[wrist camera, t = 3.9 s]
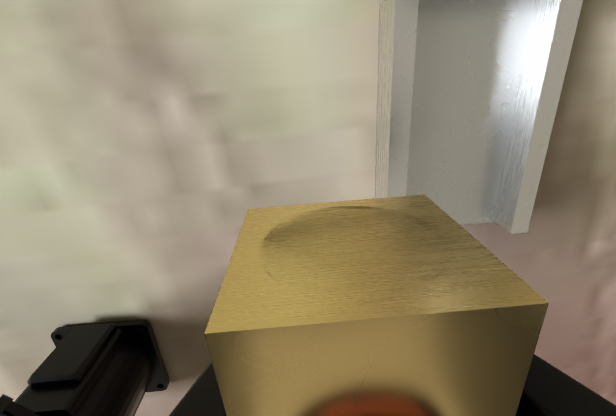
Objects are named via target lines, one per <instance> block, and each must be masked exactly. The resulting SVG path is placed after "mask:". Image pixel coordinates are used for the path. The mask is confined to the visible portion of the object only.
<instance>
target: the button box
mask: <svg viewBox="0 0 616 416" xmlns="http://www.w3.org/2000/svg"><path fill="white" fill-rule="evenodd" d="M548 304H549V303H548V302H547V301H546V300H545V299H543V298H542V297H541V296H540V295H539V294H538V293H537V292H535V291H534V290H533V289H532V288H531V287H530V286H529V285H527V284H526V283H525V282H524V281H523V280H522V279H521V278H519V277H518V276H517V275H516V274H515V273H514V272H513V271H512V270H510V269H509V268H508V267H507V266H506V265H505V264H504V263H502V262H501V261H500V260H499V259H498V258H497V257H496V256H494V255H493V254H492V253H491V252H490V251H489V250H488V249H486V248H485V247H484V246H483V245H482V244H481V243H480V242H478V241H477V240H476V239H475V238H474V237H473V236H472V235H470V234H469V233H468V232H467V231H466V230H465V229H464V228H463V227H461V226H460V225H459V224H458V223H457V222H456V221H455V220H453V219H452V218H451V217H450V216H449V215H448V214H447V213H445V212H444V211H443V210H442V209H441V208H440V207H439V206H437V205H436V204H435V203H434V202H433V201H432V200H431V199H429V198H428V197H427V196H426V195H425V194H424V195H412V196H400V197H388V198H376V199H364V200H352V201H340V202H329V203H317V204H305V205H293V206H281V207H269V208H257V209H248V211H247V214H246V216H245V219H244V222H243V225H242V228H241V231H240V234H239V236H238V239H237V242H236V245H235V248H234V251H233V254H232V256H231V259H230V262H229V265H228V268H227V271H226V273H225V276H224V279H223V282H222V285H221V288H220V291H219V293H218V296H217V299H216V302H215V305H214V308H213V311H212V313H211V316H210V319H209V322H208V325H207V328H206V330H205V333H204V334H205V338H206V342H207V345H208V349H209V353H210V356H211V360H212V364H213V367H214V371H215V375H216V378H217V382H218V386H219V389H220V393H221V397H222V400H223V404H224V408H225V411H226V415H227V416H515V415H516V412H517V409H518V405H519V402H520V398H521V395H522V392H523V388H524V385H525V382H526V378H527V375H528V371H529V368H530V365H531V361H532V358H533V355H534V351H535V348H536V344H537V341H538V338H539V334H540V331H541V328H542V324H543V321H544V317H545V314H546V311H547V307H548Z"/></svg>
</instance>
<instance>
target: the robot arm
mask: <svg viewBox="0 0 616 416" xmlns="http://www.w3.org/2000/svg"><path fill="white" fill-rule="evenodd" d="M141 327H142V328H141ZM51 338H52V340H53V342H54V344H55V346H56V348H55V349H54V350H53V352H52V353H51V354H50V355H49V356H48V357H47V358H46V360H45V361H44V362H43V363H42V364H41V365H40V366H39V367H38V369H37V370H36V371H35V372H34V373H33V374H32V375H31V377H30V378H29V379H28V381H27V382H28V384H29V386H28V387H27V388H26V389H25V390H24V391H23V393H22V394H21V395H20V396H19V397H18V398H17V399H16V401H15V402H13V401H12V400H13V399H12V398H10V397H8V396H6V395H4V394H3V395H2V396H1V397H0V416H134V415H135V413H136V411H137V409H138V407H139V405H140V403H141V400H142V398H143V396H144V394H145V392H154V391H163V390H166V389H167V387H168V384H169V379H168V376H167V373H166V370H165V367H164V364H163V361H162V358H161V355H160V352H159V349H158V346H157V343H156V340H155V337H154V334H153V331H152V328H151V325H150V323H149V322H147V321H145V320H136V321H125V322H113V323H101V324H89V325H78V326H66V327H58V328H56V329H55V330H54V331H53V332H52V334H51ZM169 416H227V415H226V411H225V408H224V404H223V400H222V397H221V393H220V389H219V386H218V382H217V378H216V375H215V371H214V367H213V364H212V361H211V362H210V364H209V365H208V366H207V368H206V369H205V370H204V371H203V373H202V374H201V375H200V377H199V378H198V379H197V380H196V382H195V383H194V384H193V385H192V387H191V388H190V389H189V391H188V392H187V393H186V394H185V396H184V397H183V398H182V400H181V401H180V402H179V403H178V405H177V406H176V407H175V409H174V410H173V411H172V412H171V414H170V415H169ZM515 416H616V405H614V404H612V403H611V402H609V401H608V400H606V399H605V398H603V397H601V396H600V395H598V394H597V393H595V392H593V391H592V390H590V389H589V388H587V387H586V386H584V385H582V384H581V383H579V382H578V381H576V380H574V379H573V378H571V377H570V376H568V375H567V374H565V373H563V372H562V371H560V370H559V369H557V368H555V367H554V366H552V365H551V364H549V363H547V362H546V361H544V360H543V359H541V358H540V357H538V356H536V355H535V354H534V355H533V358H532V361H531V365H530V368H529V371H528V375H527V378H526V382H525V385H524V388H523V392H522V395H521V398H520V402H519V405H518V409H517V412H516V415H515Z"/></svg>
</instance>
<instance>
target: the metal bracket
mask: <svg viewBox="0 0 616 416" xmlns="http://www.w3.org/2000/svg"><path fill="white" fill-rule="evenodd" d="M582 3H583V0H384V1H382V2H381V3H380V22H379V62H378V103H377V143H376V183H375V199H376V198H388V197H400V196H412V195H424V194H425V195H426V196H427V197H428V198H429V199H431V200H432V201H433V202H434V203H435V204H436V205H437V206H439V207H440V208H441V209H442V210H443V211H444V212H445V213H447V214H448V215H449V216H450V217H451V218H452V219H453V220H455V221H456V222H457V223H458V224H459V225H462V224H475V223H487V222H494V223H495V224H497V225H498V226H499V227H501V228H502V229H504V230H505V231H507V232H508V233H510V234H515V233H527V232H528V228H529V223H530V219H531V215H532V211H533V207H534V203H535V199H536V194H537V190H538V186H539V182H540V178H541V174H542V169H543V165H544V161H545V157H546V153H547V149H548V144H549V140H550V136H551V132H552V128H553V124H554V119H555V115H556V111H557V107H558V103H559V99H560V94H561V90H562V86H563V82H564V78H565V74H566V69H567V65H568V61H569V57H570V53H571V49H572V45H573V40H574V36H575V32H576V28H577V24H578V20H579V15H580V11H581V7H582Z"/></svg>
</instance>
